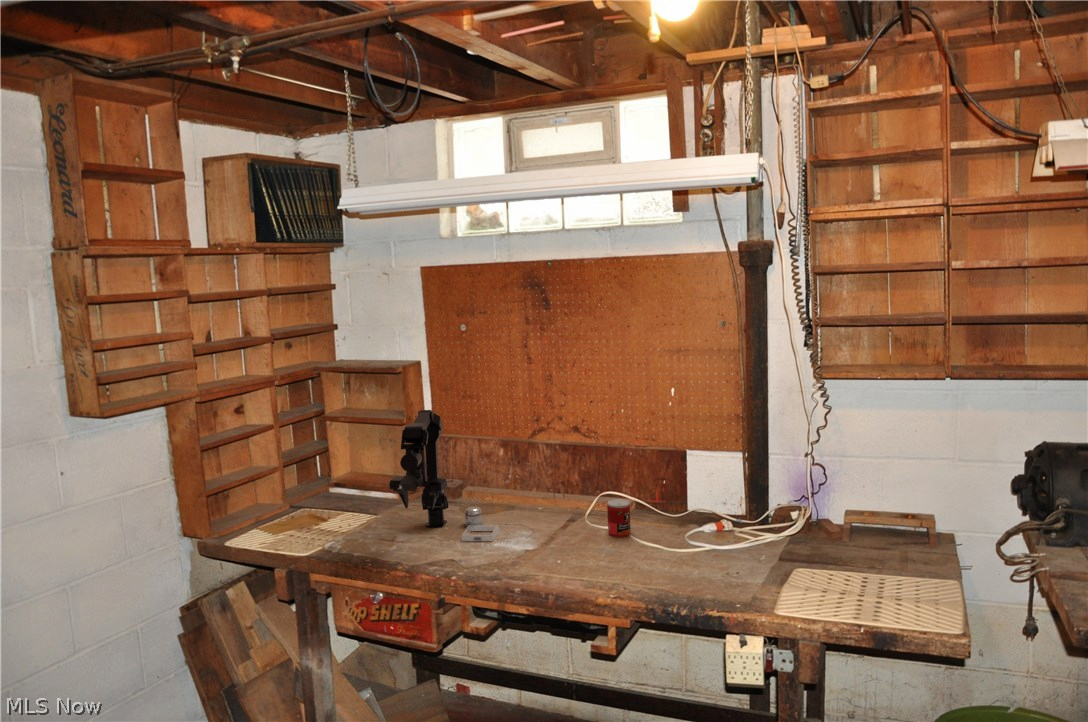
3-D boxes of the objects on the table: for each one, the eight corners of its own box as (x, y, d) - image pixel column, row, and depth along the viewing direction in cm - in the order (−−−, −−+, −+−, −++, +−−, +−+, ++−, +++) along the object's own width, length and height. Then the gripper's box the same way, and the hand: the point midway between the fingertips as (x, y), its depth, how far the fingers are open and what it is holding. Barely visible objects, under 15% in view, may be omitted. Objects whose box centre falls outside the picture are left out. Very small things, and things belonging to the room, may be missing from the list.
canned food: (620, 539, 269) (619, 507, 268) (603, 533, 275) (602, 502, 274) (635, 533, 274) (634, 502, 273) (618, 528, 280) (617, 497, 279)
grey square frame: (468, 530, 284) (468, 525, 283) (499, 530, 282) (498, 525, 282) (461, 541, 272) (461, 536, 272) (493, 542, 271) (492, 536, 271)
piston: (467, 522, 293) (466, 506, 293) (483, 522, 293) (482, 506, 292) (463, 527, 287) (462, 511, 287) (480, 527, 287) (479, 511, 286)
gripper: (379, 468, 258) (382, 515, 260) (432, 471, 253) (435, 518, 255) (395, 459, 269) (398, 504, 271) (446, 461, 264) (449, 507, 266)
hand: (419, 508), depth 265 cm, fingers open, 9 cm apart
